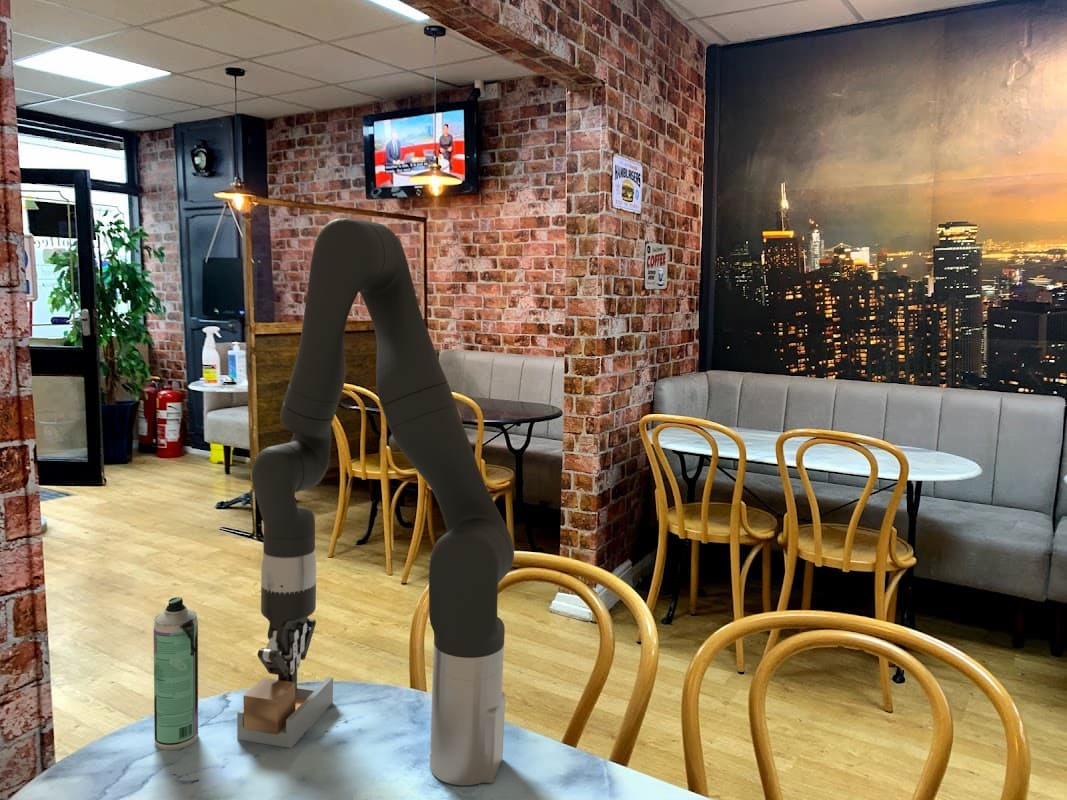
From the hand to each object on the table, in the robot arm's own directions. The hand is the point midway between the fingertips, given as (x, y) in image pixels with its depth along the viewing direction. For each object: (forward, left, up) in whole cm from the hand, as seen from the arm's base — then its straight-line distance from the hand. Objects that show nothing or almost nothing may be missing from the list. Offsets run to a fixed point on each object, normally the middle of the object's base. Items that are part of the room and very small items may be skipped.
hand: (287, 694), depth 114 cm
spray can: (+12, +9, -4) cm, 15 cm away
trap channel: (0, +1, -4) cm, 4 cm away
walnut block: (0, +5, -2) cm, 5 cm away
